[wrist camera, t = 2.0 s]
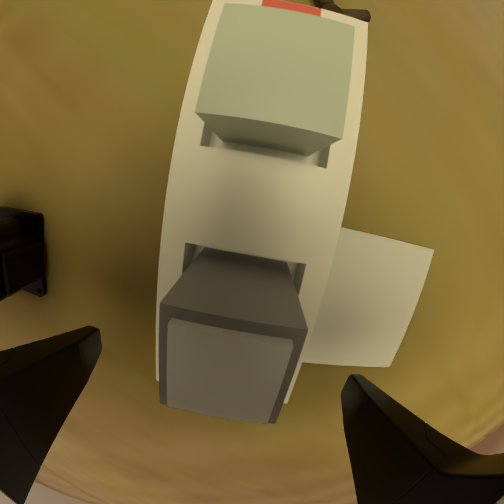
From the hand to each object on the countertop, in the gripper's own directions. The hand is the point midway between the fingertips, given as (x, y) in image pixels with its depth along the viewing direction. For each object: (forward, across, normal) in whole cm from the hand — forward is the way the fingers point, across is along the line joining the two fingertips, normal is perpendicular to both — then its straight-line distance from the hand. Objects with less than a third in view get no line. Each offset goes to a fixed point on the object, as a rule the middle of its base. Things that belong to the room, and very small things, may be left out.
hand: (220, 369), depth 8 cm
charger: (+7, 0, 0) cm, 7 cm away
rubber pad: (+8, -8, 0) cm, 11 cm away
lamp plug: (+7, 0, -10) cm, 12 cm away
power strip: (+8, 0, -5) cm, 9 cm away
